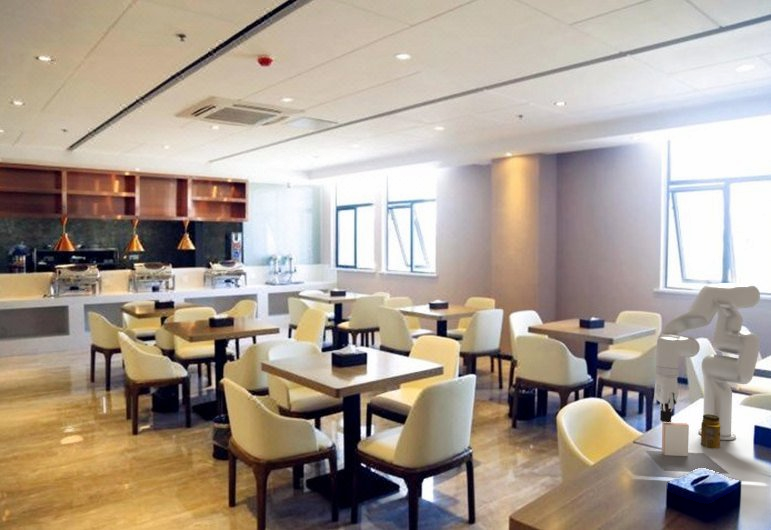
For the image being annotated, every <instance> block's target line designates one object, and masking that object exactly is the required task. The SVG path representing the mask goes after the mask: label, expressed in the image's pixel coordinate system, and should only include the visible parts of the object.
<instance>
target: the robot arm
mask: <svg viewBox="0 0 771 530" xmlns="http://www.w3.org/2000/svg"><path fill="white" fill-rule="evenodd" d="M760 298H761V292H760V290H759V289H758V287H756V286H755V285H750V284H738V283H716V284H709V285H705V286H703V287H702V288H701V290H700V291H699V293H698V294H697V295H696V297H695V298H694V300H693V302H692V304H691V306H690V307H689V308H688V310H687V311H685V312H684V313H682V314H680V315H678V316H676V317H675V318H673V319H671V320H669V321H668V322H667V323H666V324H665V325H664V327H663V328H662V330H661V331H660V333H659V335H658V336H657V341H656V358H655V359H656V360H655V361H656V362H655V363H656V364H655V382H654V391H653V392H654V393H653V394H654V395H653V397H654V399H655V400H656V401H657V402H659V404H660V405H659V408H660V410H659V411H660V413H659V415H660V417H659V420H660V421H661V422H665V423H672V411H673V410H674V409H675V408H674V407H675V406H676V405H677V404H678V394H679V392H678V390H679V388H678V387H679V386H678V378H679V377H680V358H681V357H682V358H693V357H695V356H697V355H698V354H699V351H700V349H701V348H700V343H699V341H698V340H696V338H693V337H692V336H686V335H680V334H682V333H685V332H687V331H691V330H696V329H699V328H700V329H701V328H704V327H706V326H709V325H710V324H711V322H712V321H713V319H714V317H715V315H716V314H717V319H716V324H715V328H714V333H713V336H712V341H711V344H712V348H713V350H715V351H717V352H719V353H722V354H724V353H725V354H730V355H736V356H738V357H732V356H727V355H721V354H708V355H706V356H705V357H704V358H703V359H702V362H701V371H702V372H701V373H702V376H703V377H702V378H703V415H706V414H710V415H715V416H718V417H719V424H720V441H731V440H735V439H736V438H737V436H736V433H735V432H733V431H732V412H733V411H732V410H733V409H732V407H733V390H732V388H731V386H730V384H729V383H733V384H738V385H747V384H749V383H750V382H751V381H752V379H753V377H754V374H755V370H756V366H757V361H758V357H759V352H760V346H761V345H760V340H759V337H758V336H757V335H756V333H753V332H752V331H746V330H742V326H743V321H744V320H743V318H744V317H743V316H742V313H741V312H740V310H739V309H748V308H753V307H755V306H756V305H757V304H759V302H760ZM698 433H699V434H700V435H701V427H699V428H698Z"/></svg>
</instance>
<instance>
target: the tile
mask: <svg viewBox="0 0 771 530" xmlns="http://www.w3.org/2000/svg"><path fill="white" fill-rule="evenodd" d="M661 422H662V421H661ZM689 427H690V425H689V424H688V423H687V422H686V423H682V422H662V427H661V428H662V430H661V435H662V436H661V451H662V454H663V455H668V456H688V452H689V434H690V432H689V431H690V430H689Z"/></svg>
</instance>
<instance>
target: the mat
mask: <svg viewBox="0 0 771 530" xmlns="http://www.w3.org/2000/svg"><path fill="white" fill-rule="evenodd" d="M645 452H646V453H647V455H649V456H650V457H651V459H653V461H654V462H655V463H656V464H657V465H658V466H659V467H660V468H661V469H662V470H663V471H666V472H668V471H669V472H683V473H684V472H685V473H686V472H687V473H692V472H691V471H693V470H695V469H698V468H706V469H709V470H713V471H715V472H719V473H718V474H728V475H729V474H730V473H729V472H728V471H727V470H725V469H724V468H723V467H722V466H721V465H720V464H718V463H717V462H716V461H714V460H713V458H711V457H710V456H709V455H708V454H706V453H705V452H689V451H688V456H668V455H663V454H662V450H661V451H660V450H645Z"/></svg>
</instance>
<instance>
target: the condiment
mask: <svg viewBox="0 0 771 530" xmlns="http://www.w3.org/2000/svg"><path fill="white" fill-rule="evenodd" d="M700 424H701V427H700V428H701V434H700V445H701V446H702V447H704V448H707V449H719V448H721V440H720V424H719V417H718V416H715V415H710V414H706V415H703V416H702V422H701V423H700Z"/></svg>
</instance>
